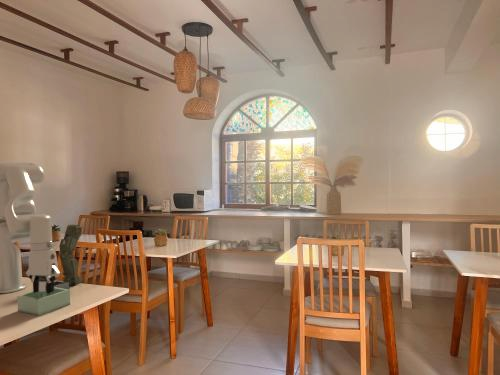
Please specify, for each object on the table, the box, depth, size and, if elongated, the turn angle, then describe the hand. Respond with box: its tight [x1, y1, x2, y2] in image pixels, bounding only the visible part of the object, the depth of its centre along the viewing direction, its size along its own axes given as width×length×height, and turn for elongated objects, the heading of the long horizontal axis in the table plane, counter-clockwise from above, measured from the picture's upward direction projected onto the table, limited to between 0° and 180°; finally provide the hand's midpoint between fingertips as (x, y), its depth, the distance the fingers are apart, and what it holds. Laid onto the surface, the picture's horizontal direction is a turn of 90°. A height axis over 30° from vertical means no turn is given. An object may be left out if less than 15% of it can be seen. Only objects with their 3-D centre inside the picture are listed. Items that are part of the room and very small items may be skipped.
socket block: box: [54, 280, 71, 291], centre depth 156 cm, size 8×8×5 cm
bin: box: [16, 287, 71, 317], centre depth 140 cm, size 13×13×6 cm
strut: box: [38, 276, 51, 299], centre depth 141 cm, size 4×4×12 cm
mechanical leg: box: [58, 224, 84, 288], centre depth 172 cm, size 14×7×30 cm, turn 168°
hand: (43, 291), depth 140 cm, fingers open, 5 cm apart
